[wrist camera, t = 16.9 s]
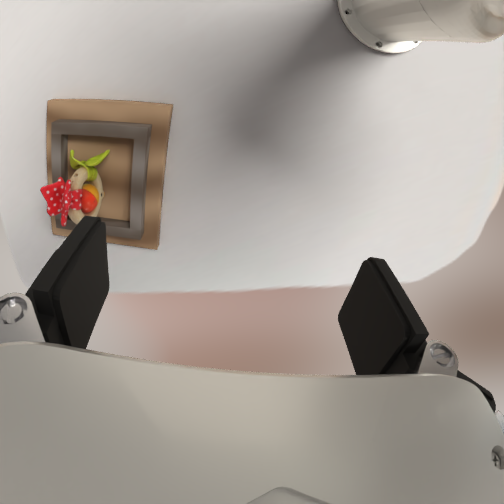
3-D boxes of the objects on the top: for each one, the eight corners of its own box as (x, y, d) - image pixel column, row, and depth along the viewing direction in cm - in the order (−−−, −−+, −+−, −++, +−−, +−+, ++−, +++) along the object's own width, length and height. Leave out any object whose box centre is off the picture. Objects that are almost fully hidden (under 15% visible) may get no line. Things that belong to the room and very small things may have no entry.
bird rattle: (126, 183, 40) (107, 130, 33) (109, 252, 34) (78, 199, 27) (87, 187, 40) (64, 138, 33) (65, 254, 34) (30, 206, 27)
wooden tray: (53, 99, 32) (39, 103, 29) (173, 104, 35) (167, 108, 32) (56, 229, 43) (47, 241, 40) (158, 244, 45) (154, 257, 42)
